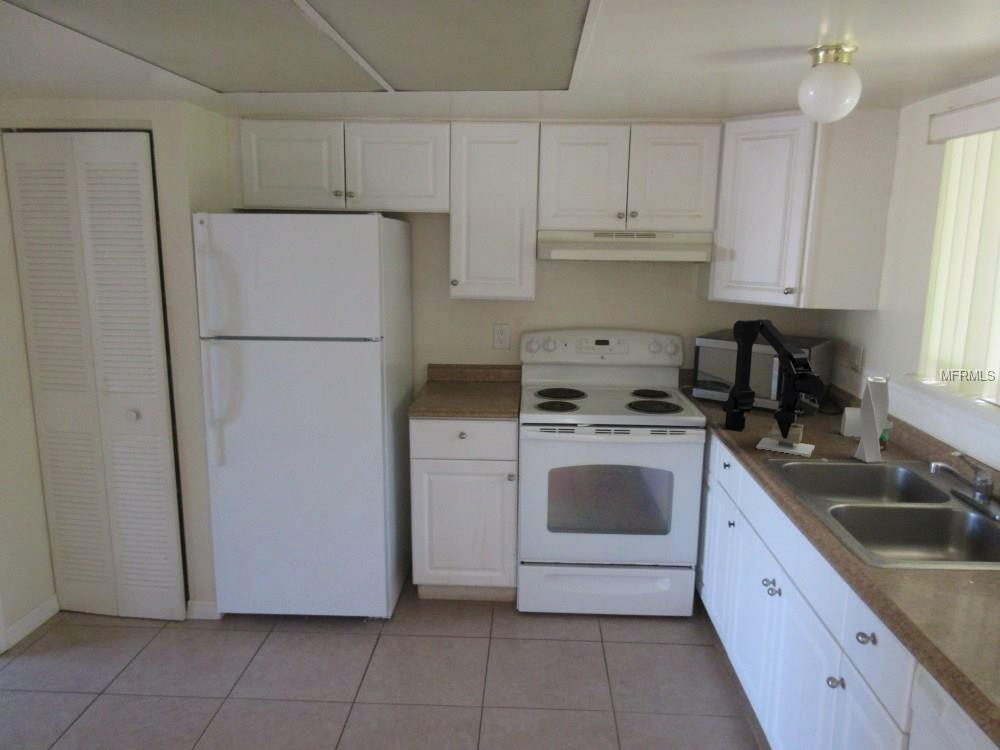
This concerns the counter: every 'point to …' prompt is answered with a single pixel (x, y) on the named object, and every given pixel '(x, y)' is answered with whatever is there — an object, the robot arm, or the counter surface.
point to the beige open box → (793, 434)
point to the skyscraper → (873, 419)
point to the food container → (885, 434)
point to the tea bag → (851, 422)
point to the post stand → (786, 447)
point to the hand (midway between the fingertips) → (786, 436)
